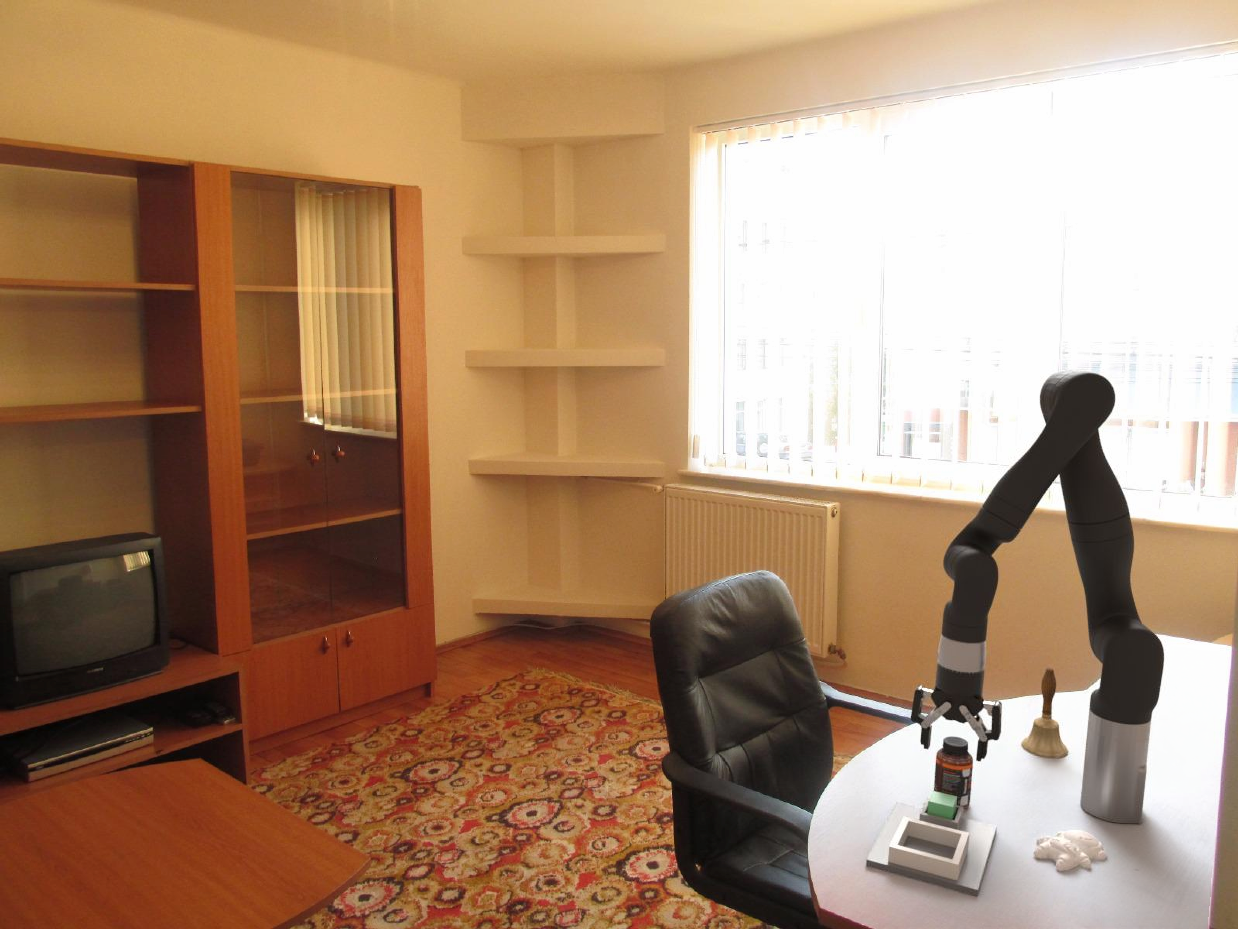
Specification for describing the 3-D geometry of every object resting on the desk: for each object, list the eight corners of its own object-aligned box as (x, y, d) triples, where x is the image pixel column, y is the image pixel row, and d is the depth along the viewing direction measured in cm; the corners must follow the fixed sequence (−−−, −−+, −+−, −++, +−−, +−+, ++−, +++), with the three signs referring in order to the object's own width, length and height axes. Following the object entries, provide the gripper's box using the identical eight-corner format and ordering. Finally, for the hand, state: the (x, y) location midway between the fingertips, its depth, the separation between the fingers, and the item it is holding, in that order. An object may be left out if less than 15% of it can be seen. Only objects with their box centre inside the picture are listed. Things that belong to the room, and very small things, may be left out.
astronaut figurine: (1019, 850, 154) (1020, 832, 153) (1072, 833, 159) (1074, 815, 158) (1066, 879, 146) (1068, 860, 145) (1120, 860, 151) (1122, 842, 151)
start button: (955, 815, 159) (957, 796, 158) (951, 825, 155) (952, 807, 155) (931, 809, 161) (932, 791, 160) (926, 819, 157) (928, 801, 157)
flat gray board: (996, 832, 158) (997, 811, 158) (977, 896, 141) (979, 874, 140) (895, 807, 166) (897, 787, 165) (866, 865, 148) (867, 844, 148)
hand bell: (1021, 753, 186) (1027, 673, 184) (1021, 736, 194) (1027, 659, 191) (1068, 761, 183) (1076, 680, 181) (1067, 743, 191) (1074, 665, 188)
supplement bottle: (974, 813, 164) (979, 749, 162) (939, 812, 164) (943, 748, 162) (963, 795, 170) (967, 733, 168) (928, 794, 170) (932, 733, 168)
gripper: (1009, 663, 163) (1000, 755, 166) (922, 647, 170) (914, 735, 172) (1003, 678, 156) (993, 773, 159) (912, 660, 163) (904, 751, 166)
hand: (952, 753), depth 166 cm, fingers open, 8 cm apart
